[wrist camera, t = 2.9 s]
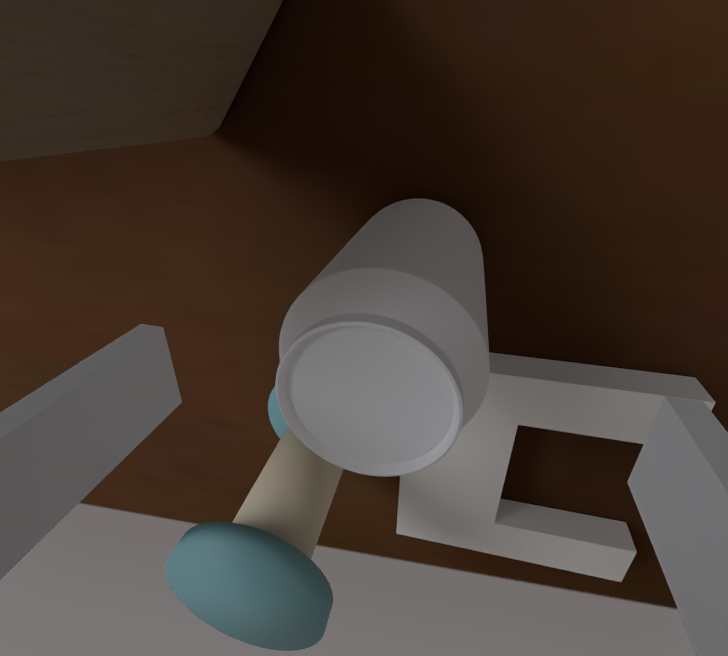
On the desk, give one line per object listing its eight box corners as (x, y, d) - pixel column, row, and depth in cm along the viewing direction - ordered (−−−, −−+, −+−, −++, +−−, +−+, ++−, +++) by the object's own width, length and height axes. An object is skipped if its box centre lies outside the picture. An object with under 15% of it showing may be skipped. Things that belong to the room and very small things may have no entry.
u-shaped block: (412, 343, 23) (407, 362, 21) (695, 377, 20) (715, 402, 19) (400, 508, 30) (396, 533, 28) (611, 552, 27) (621, 582, 25)
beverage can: (507, 273, 20) (543, 451, 10) (405, 331, 23) (348, 517, 13) (436, 165, 18) (388, 241, 8) (335, 242, 21) (206, 369, 11)
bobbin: (268, 352, 26) (132, 516, 16) (393, 369, 24) (334, 565, 14) (280, 446, 30) (177, 627, 19) (389, 467, 28) (340, 675, 18)
